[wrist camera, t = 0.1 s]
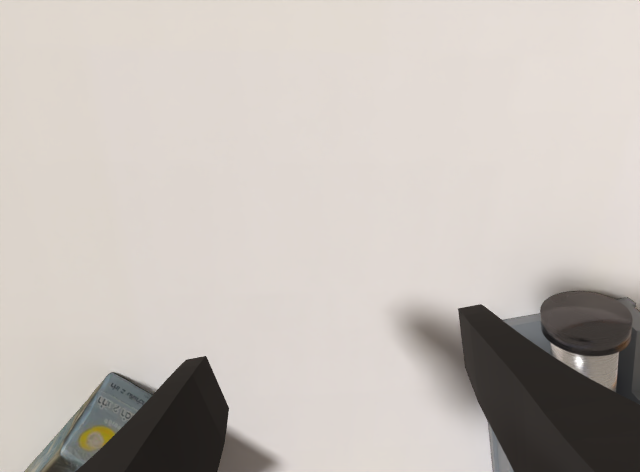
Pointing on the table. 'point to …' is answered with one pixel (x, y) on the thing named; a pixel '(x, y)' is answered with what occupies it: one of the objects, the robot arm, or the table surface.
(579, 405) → the robot arm
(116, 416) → the beverage carton
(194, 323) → the table surface
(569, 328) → the shaft
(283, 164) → the table surface
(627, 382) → the housing
